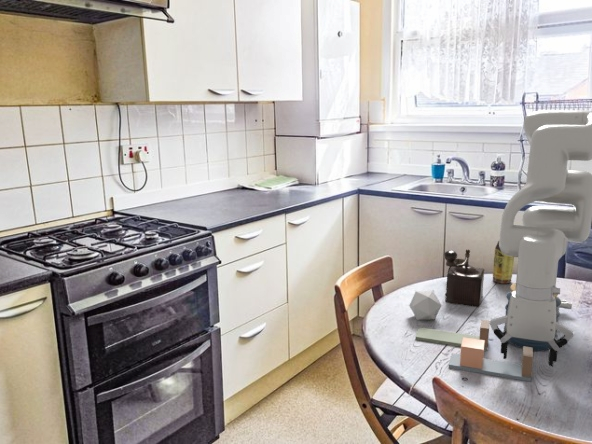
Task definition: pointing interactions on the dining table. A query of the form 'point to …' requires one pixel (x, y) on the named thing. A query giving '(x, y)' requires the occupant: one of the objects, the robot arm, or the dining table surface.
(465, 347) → the terracotta block
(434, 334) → the empty strip
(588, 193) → the robot arm
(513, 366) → the cargo strip
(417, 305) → the die
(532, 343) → the canister
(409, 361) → the dining table surface
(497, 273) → the sauce bottle
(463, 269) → the manual coffee grinder
